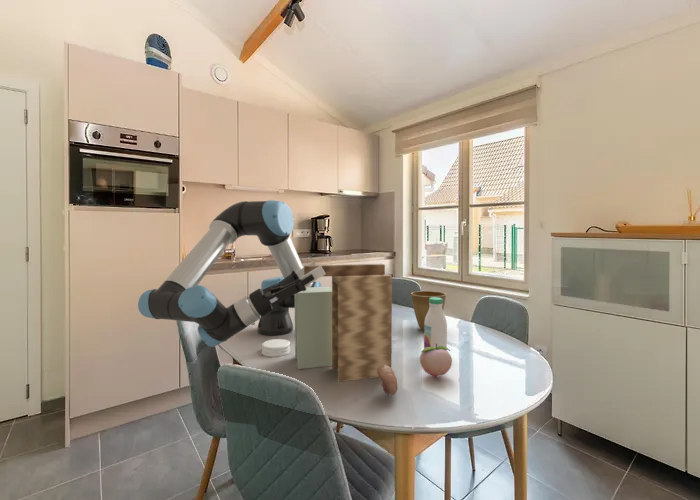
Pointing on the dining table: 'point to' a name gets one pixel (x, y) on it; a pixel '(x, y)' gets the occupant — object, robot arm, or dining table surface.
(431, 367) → the decorative fruit
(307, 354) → the sage green rectangular block
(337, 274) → the wooden square beam
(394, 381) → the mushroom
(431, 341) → the milk bottle
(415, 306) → the plant pot
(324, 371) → the dining table surface
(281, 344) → the coaster
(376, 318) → the brown wooden tall box
